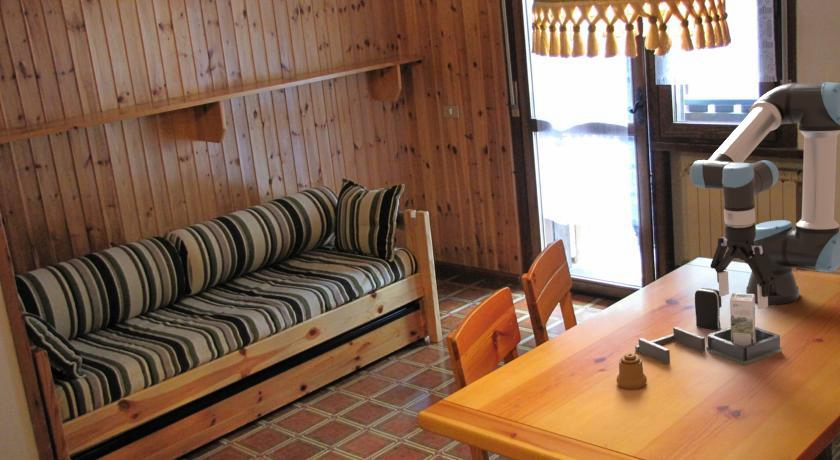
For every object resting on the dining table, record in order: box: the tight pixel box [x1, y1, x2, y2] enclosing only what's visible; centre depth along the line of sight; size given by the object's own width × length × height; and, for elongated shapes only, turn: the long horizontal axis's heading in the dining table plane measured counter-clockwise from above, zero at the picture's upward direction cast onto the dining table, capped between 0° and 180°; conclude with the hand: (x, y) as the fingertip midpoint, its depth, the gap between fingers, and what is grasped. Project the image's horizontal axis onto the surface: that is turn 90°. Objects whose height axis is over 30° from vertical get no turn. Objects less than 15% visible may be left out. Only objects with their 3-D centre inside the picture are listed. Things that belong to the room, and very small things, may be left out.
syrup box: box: [729, 292, 756, 347], centre depth 246 cm, size 6×6×14 cm
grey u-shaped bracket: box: [634, 326, 706, 365], centre depth 253 cm, size 13×13×4 cm
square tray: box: [705, 326, 783, 366], centre depth 247 cm, size 13×13×4 cm
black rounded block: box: [694, 287, 722, 331], centre depth 266 cm, size 7×4×11 cm, turn 46°
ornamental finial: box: [616, 353, 648, 390], centre depth 235 cm, size 8×8×8 cm
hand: (743, 301), depth 245 cm, fingers open, 13 cm apart
